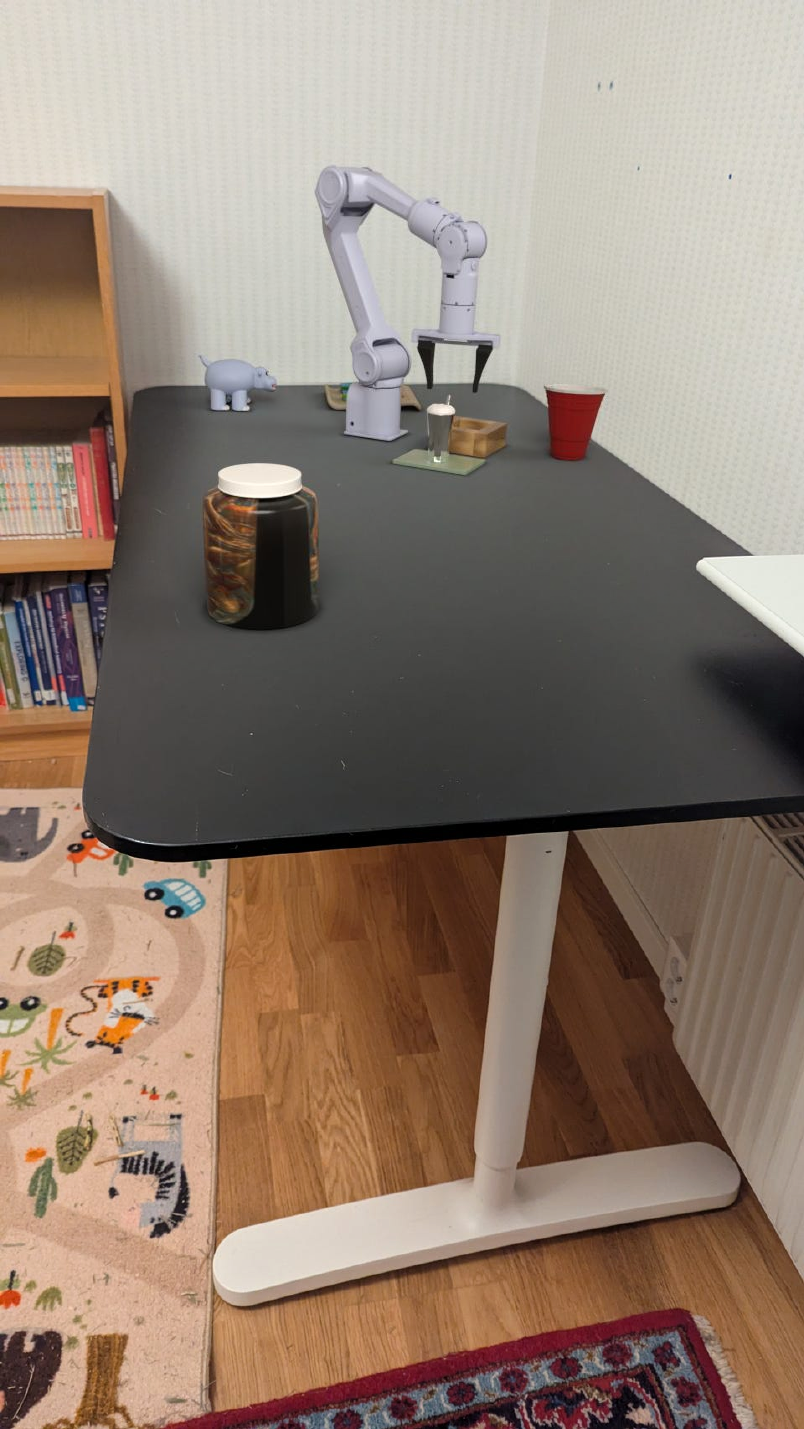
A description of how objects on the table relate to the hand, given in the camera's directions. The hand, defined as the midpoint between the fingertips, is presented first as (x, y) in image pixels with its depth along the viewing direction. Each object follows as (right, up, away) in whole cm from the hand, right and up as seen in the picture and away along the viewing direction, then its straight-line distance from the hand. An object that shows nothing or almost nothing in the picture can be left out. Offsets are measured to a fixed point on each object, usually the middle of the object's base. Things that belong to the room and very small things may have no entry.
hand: (452, 390), depth 171 cm
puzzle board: (-15, +10, +39) cm, 42 cm away
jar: (-24, -44, -61) cm, 78 cm away
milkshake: (-2, -13, -3) cm, 13 cm away
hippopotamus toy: (-41, +6, +30) cm, 51 cm away
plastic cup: (+20, -10, +6) cm, 23 cm away
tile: (-2, -13, -3) cm, 13 cm away
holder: (+3, -8, +8) cm, 11 cm away
